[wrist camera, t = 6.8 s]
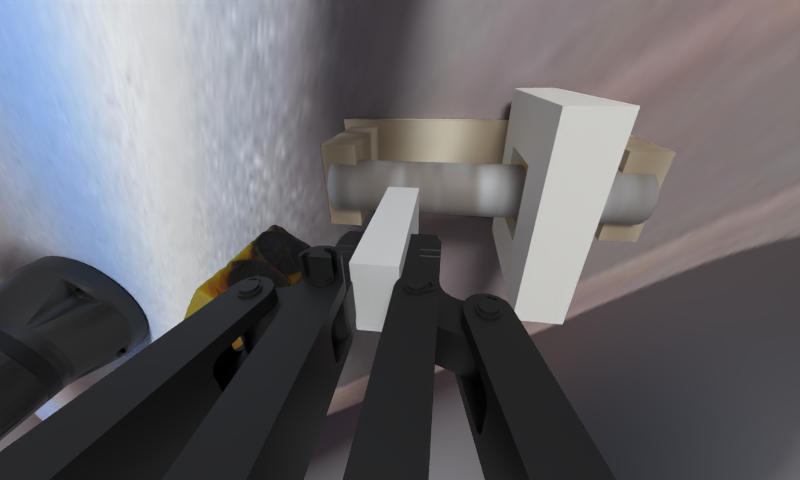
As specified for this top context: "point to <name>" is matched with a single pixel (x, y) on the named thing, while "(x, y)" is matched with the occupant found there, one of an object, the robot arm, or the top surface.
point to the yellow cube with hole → (256, 267)
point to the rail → (460, 151)
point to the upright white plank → (557, 193)
